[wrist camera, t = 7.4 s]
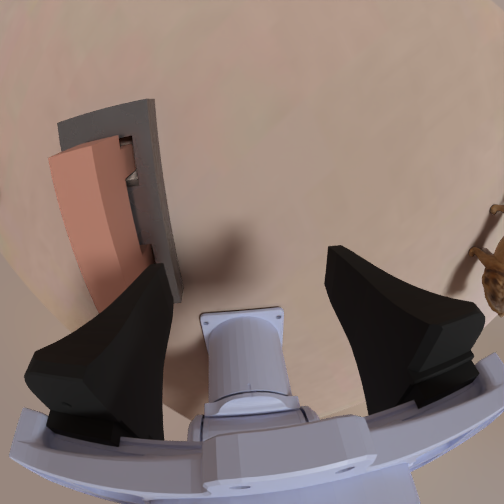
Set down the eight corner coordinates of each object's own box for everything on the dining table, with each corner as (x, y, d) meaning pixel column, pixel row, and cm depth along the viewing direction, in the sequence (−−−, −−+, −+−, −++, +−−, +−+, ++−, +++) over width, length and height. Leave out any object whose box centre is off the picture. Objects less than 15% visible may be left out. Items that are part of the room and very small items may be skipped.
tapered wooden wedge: (157, 271, 23) (141, 324, 18) (126, 273, 23) (104, 324, 17) (130, 130, 17) (91, 145, 11) (94, 138, 17) (48, 157, 11)
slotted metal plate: (183, 288, 24) (181, 302, 23) (114, 291, 24) (108, 305, 22) (154, 98, 16) (146, 98, 14) (70, 119, 16) (57, 123, 14)
